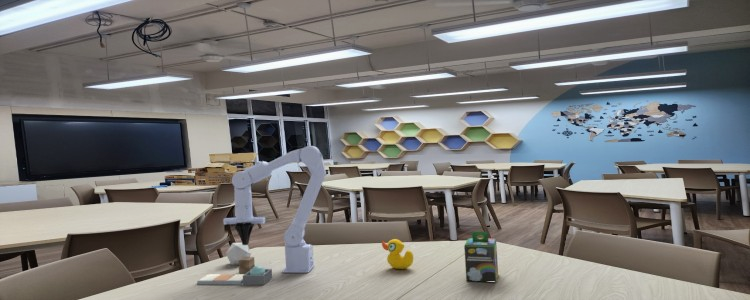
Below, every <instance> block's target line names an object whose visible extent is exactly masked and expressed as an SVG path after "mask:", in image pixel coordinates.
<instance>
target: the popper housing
mask: <svg viewBox="0 0 750 300" xmlns="http://www.w3.org/2000/svg"><path fill="white" fill-rule="evenodd" d="M272 279H273V269H272V268H265V273H264V274H263V275H250V271H248V272H247V273H246V274H244V275H243V283H242V284H243V285H244V286H264V285H266V284H267V283H268V282H269V281H271V280H272Z"/></svg>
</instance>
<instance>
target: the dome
mask: <svg viewBox="0 0 750 300" xmlns="http://www.w3.org/2000/svg"><path fill="white" fill-rule="evenodd" d="M265 269H266V268H265V267H262V266H261V265H255V267H253V268H252V269H251V270H250V275H263V274H264V273H265Z"/></svg>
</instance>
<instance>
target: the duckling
mask: <svg viewBox="0 0 750 300" xmlns="http://www.w3.org/2000/svg"><path fill="white" fill-rule="evenodd" d="M381 246H382V248H383V249H384V250H386V251H388V252H389V254H388V255H387V259H386V260H387V263H388V264H389V266H390V267H392V268H394V270H395V269H396V270H406V269H408V268H410V267H411V266H412V265H413V262H414V254H413V252H412V251H411V250H406V251H405V252H404V256H403V255H401V253H402V252H403V250H404V248H405V244H404V243H403V242H402V241H401V240H400V239H397V238H393V239H391V240H389V241H388V242H387V243H386V242H385V241H382V242H381Z"/></svg>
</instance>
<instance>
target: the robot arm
mask: <svg viewBox="0 0 750 300" xmlns="http://www.w3.org/2000/svg"><path fill="white" fill-rule="evenodd" d="M323 157H324V156H323V154H322V152H321V151H320V149H319V148H318V147H317V146H314V145H307V146H304V147H303V148H299V149H298V148H297V149H295V150H292V151H288V152H287V153H284V154H283V155H281V156H279V157H277V158H274V160H271V161H269V162H267V161H266V160H265V161H264V160H262V161H261V160H260V161H259V160H258V161H257V162H255V164H253V165H252V166H250V167H245V168H243V170H242V171H237V172H236V173H234V175H232V178H231V183H232V186H233V188H234V194H233V196H234V209H235V214H234V215H235V217H225V218H223V225H224V226H225V225H235V226H234V228H235V230H236V232H237V233H238V236H239V237H240V241H241V242H242V245H249V243H250V238H251V233H252V230H253V229H254V227H255V225H256V224H257V225H258V224H260V225H263V224H265V223H266V217H265V216H264V217H262V216H261V217H260V216H254V215H253V199H252V198H253V197H252V196H253V195H252V184H255V183H258V182H260V181H262V180H264V179H266V178H269V177H271V175H272V172H273V171H274V170H277V169H279V168H281V167H284V166H286V165H288V164H291V163H303V164H304V165H305V166H306V167H307V169H308V171H309V173H310V175H311V176H310V179H309V181H308V184H307V185H306V188H305V191H304V193H303V195H302V198H301V201H300V203H299V205H298V208H297V211H296V213H295V216H294V218H293V220H292V222H291V224H290V226H289V227H288V228H287V230H286V231H285V232H284V234H283V240H284V252H285V253H284V254H285V255H284V256H285V258H284V259H285V268H284V269H283V270H281V272H282V273H286V274H287V273H296V274H297V273H302V274H303V273H309V272H310V271H311V270H312V269H313V268H314V267H315V263H314V249H313V247H314V246H313V245H312V244H310V243H309V244H307V243H306V241H305V239H304V237H305V235H306V225H307V222H308V219H309V217H310V214H311V213H312V210H313V208H314V207H313V206H314V204H315V202H316V200H317V197H318V195H319V193H320V190H321V187H322V185H323V183H324V180H325V177H326V174H327V171H326V167H325V162H324V158H323Z"/></svg>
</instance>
